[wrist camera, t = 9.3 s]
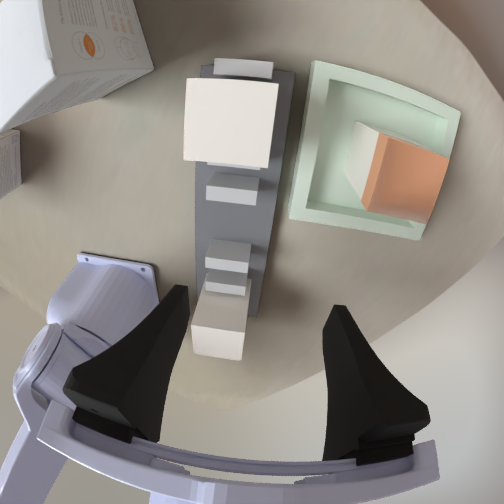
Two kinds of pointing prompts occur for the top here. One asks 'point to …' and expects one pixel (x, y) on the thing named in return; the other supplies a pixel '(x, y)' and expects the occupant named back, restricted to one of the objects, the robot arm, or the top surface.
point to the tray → (339, 137)
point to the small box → (65, 54)
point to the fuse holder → (239, 197)
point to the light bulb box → (9, 161)
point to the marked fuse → (394, 173)
